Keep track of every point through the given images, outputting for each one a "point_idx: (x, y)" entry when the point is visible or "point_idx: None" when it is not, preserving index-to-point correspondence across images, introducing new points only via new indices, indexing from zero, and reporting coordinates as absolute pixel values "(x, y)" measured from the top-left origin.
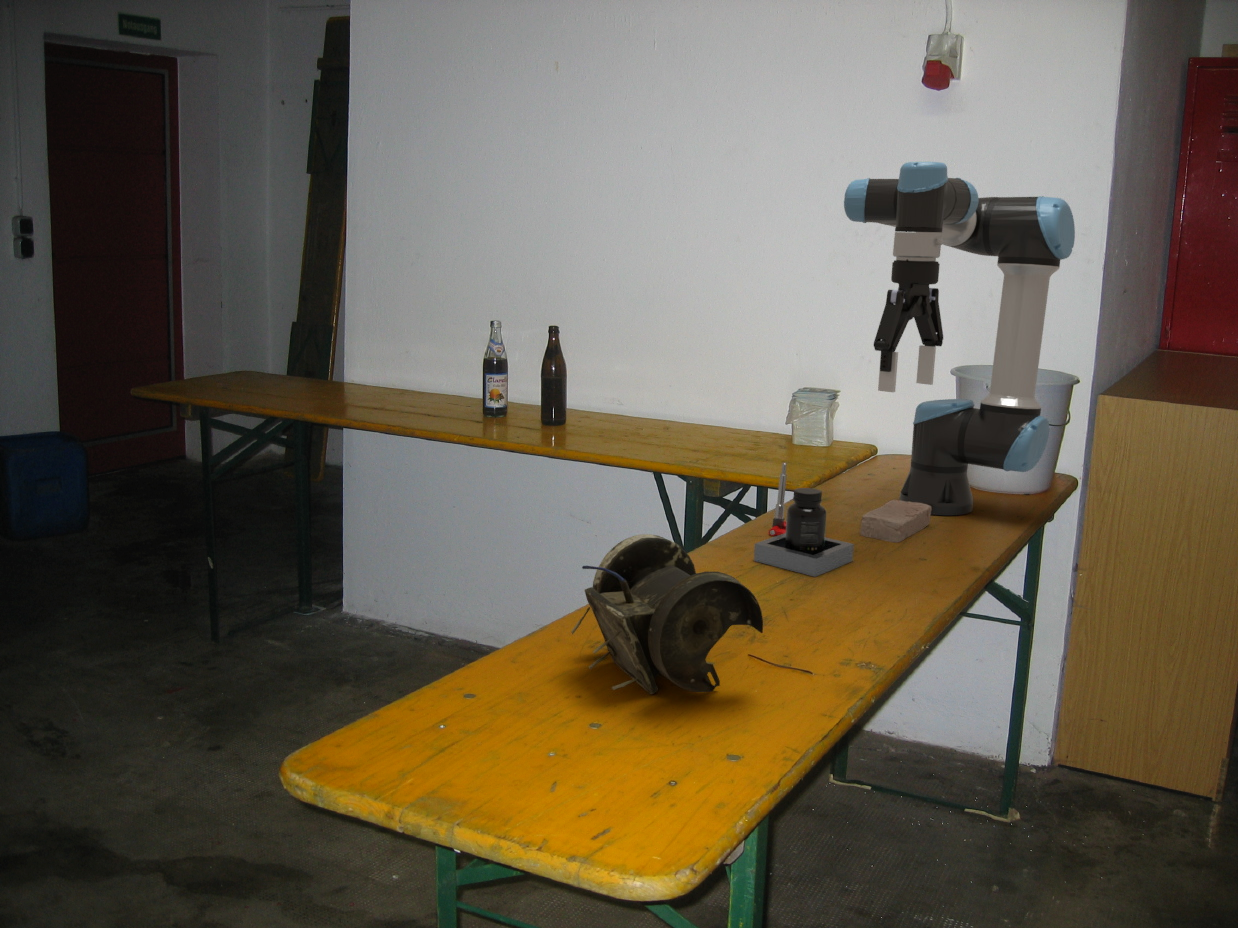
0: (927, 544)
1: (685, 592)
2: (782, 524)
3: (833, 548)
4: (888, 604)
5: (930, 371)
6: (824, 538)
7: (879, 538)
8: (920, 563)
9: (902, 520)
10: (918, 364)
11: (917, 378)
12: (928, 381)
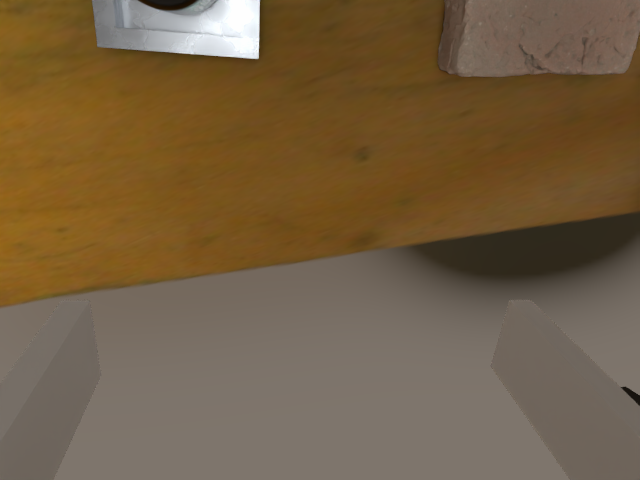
0: (460, 122)
1: None
2: None
3: (195, 39)
4: (89, 216)
5: (527, 410)
6: (190, 12)
7: (444, 27)
8: (335, 162)
9: (484, 68)
10: (571, 370)
11: (521, 318)
12: (500, 366)
